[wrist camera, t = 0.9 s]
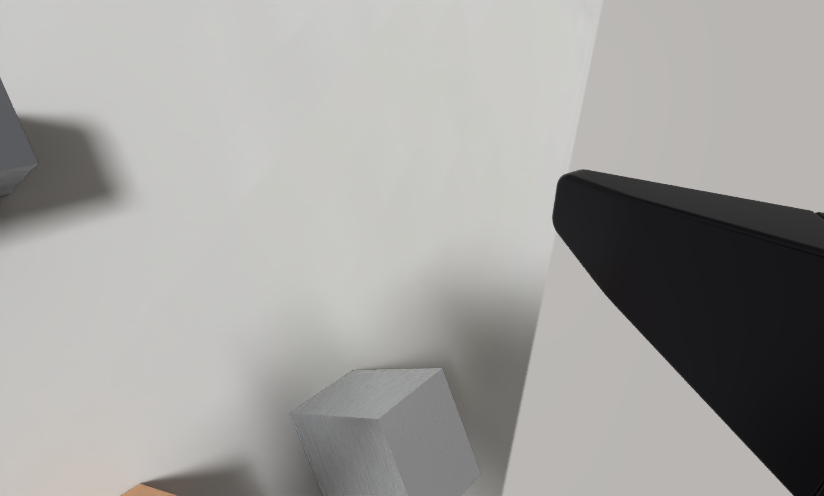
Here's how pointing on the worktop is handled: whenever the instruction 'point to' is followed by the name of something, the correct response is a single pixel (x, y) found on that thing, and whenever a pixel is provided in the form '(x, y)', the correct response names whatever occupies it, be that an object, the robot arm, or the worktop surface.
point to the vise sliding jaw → (146, 491)
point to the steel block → (387, 435)
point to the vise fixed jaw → (12, 147)
